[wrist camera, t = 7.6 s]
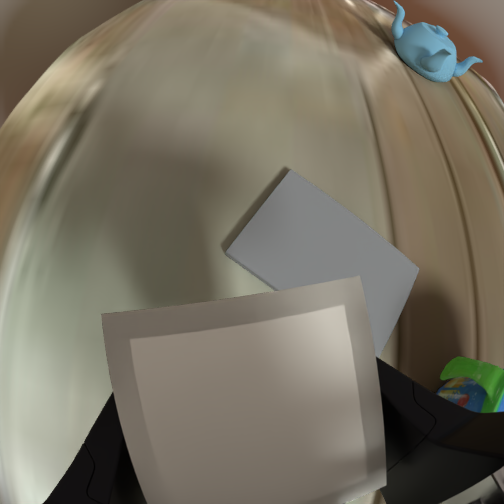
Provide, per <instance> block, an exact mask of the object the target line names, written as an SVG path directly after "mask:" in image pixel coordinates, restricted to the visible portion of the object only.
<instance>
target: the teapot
mask: <svg viewBox="0 0 504 504" xmlns="http://www.w3.org/2000/svg"><path fill="white" fill-rule="evenodd" d="M394 2H395V1H394ZM395 4H396V6H397V15H396V17H395V19H394V21H393V23H392V34H393V36H394V38H395V39H394V43H395V48H396V51H397V53H398V55H399V56H400V57H401V59H402V60H403V61H404V62H405V63H406V64H407V65H408V66H409V67H411V68H412V69H413V70H414V71H416V72H417V73H419V74H420V75H422V76H423V77H425V78H427V79H429V80H431V81H434V82H447V81H449V80H450V79H451V77H452V76H456V77H457V76H461V75H463V74H464V73H465V72H466V71H467V70H468V68H469V67H470V66H471V65H472V64H473V63H476V62H483V61H482V60H480V59H478V58H476V57H473V56H472V57H468V58H467V59H466V60H464V61H463V62H461V63H456V48H455V45H454V44H453V43H452V42H451V40H450V39H449V38H448V37H447V35H448V33H447V31H445V30H444V29H443V28H441V27H440V26H438V25H437V26H436V27H435V26H433V25H429V24H427V23H424V22H422V23H417V24H414V25H411V26H408V27H406V28H404V29H403V27H402V20H403V18H404V15H405V12H404V10H403V8H402V7H401V6H400V5H399V4H398V3H397V2H395Z"/></svg>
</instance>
